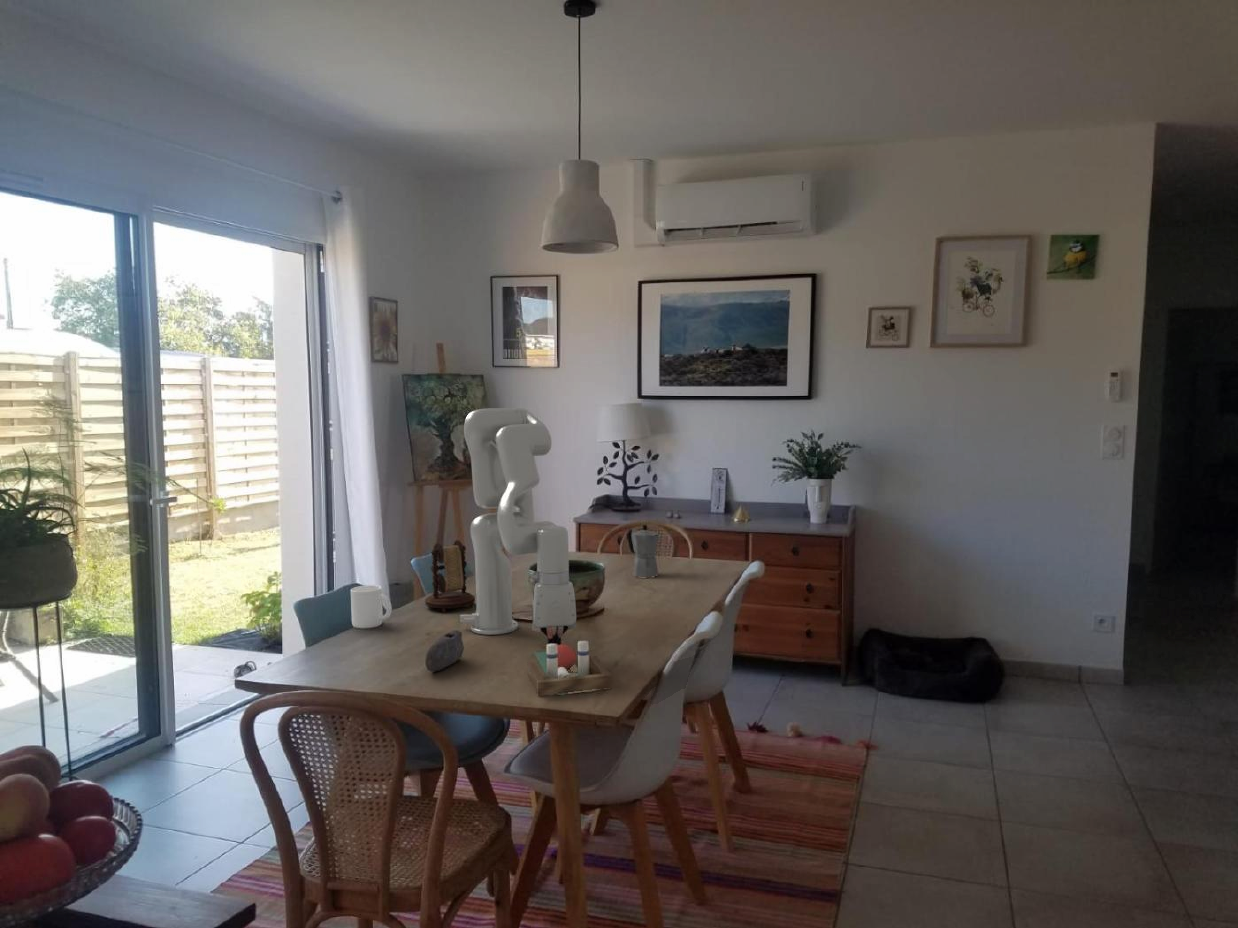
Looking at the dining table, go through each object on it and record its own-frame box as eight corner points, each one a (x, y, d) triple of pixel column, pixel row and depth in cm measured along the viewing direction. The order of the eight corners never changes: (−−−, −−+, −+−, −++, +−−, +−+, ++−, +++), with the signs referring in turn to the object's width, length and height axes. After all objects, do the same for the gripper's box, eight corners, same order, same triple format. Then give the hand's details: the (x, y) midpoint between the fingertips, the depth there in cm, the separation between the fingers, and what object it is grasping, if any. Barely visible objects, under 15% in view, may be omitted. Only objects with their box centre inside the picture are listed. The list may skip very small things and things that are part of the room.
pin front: (560, 679, 187) (568, 692, 179) (553, 671, 186) (562, 684, 178) (568, 672, 187) (577, 684, 179) (562, 664, 187) (571, 676, 178)
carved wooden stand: (440, 615, 240) (438, 547, 238) (416, 606, 251) (414, 541, 250) (484, 606, 250) (482, 541, 248) (459, 598, 261) (457, 535, 259)
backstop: (538, 696, 175) (537, 682, 175) (527, 675, 188) (527, 662, 188) (611, 688, 179) (611, 675, 179) (596, 668, 192) (596, 655, 192)
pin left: (547, 684, 182) (546, 646, 181) (547, 680, 184) (546, 643, 184) (558, 684, 182) (557, 646, 181) (558, 680, 185) (557, 643, 184)
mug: (400, 623, 233) (398, 586, 232) (382, 631, 225) (381, 593, 224) (364, 619, 237) (362, 584, 236) (345, 627, 229) (344, 590, 228)
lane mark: (534, 653, 204) (534, 652, 204) (566, 650, 206) (566, 649, 206) (557, 695, 175) (557, 694, 175) (594, 691, 177) (594, 690, 177)
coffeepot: (668, 576, 289) (668, 525, 287) (649, 580, 282) (649, 528, 281) (636, 570, 300) (636, 520, 298) (618, 574, 293) (617, 523, 292)
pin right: (578, 681, 184) (577, 644, 183) (578, 677, 186) (577, 640, 185) (589, 681, 184) (588, 643, 183) (588, 677, 186) (588, 640, 186)
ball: (547, 641, 191) (544, 660, 194) (556, 658, 186) (553, 678, 189) (571, 636, 193) (568, 656, 196) (581, 654, 189) (577, 673, 192)
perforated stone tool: (436, 677, 188) (435, 647, 187) (416, 675, 189) (415, 645, 189) (469, 657, 202) (469, 629, 201) (450, 655, 203) (450, 627, 203)
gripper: (524, 583, 193) (526, 660, 194) (587, 578, 197) (588, 654, 198) (519, 576, 200) (521, 651, 201) (580, 572, 204) (581, 645, 205)
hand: (554, 652), depth 200 cm, fingers closed
